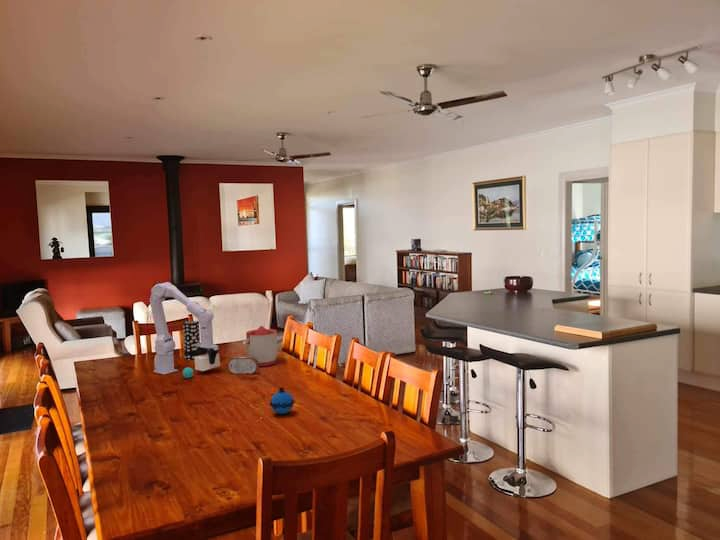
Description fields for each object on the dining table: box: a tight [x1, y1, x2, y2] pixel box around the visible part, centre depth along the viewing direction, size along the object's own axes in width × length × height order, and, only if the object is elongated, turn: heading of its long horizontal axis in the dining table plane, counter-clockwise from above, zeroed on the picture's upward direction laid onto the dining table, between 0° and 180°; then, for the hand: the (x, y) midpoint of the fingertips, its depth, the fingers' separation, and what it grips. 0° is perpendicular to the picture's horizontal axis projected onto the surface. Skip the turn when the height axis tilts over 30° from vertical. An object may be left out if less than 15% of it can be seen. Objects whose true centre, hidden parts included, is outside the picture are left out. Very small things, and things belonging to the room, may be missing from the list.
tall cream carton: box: [194, 353, 221, 372], centre depth 258 cm, size 6×10×6 cm, turn 143°
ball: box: [182, 366, 194, 379], centre depth 250 cm, size 5×5×5 cm
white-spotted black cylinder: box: [182, 320, 201, 361], centre depth 287 cm, size 8×8×20 cm
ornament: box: [269, 386, 295, 415], centre depth 197 cm, size 9×9×10 cm
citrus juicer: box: [242, 325, 278, 367], centre depth 271 cm, size 16×17×20 cm
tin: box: [227, 355, 260, 375], centre depth 254 cm, size 15×3×8 cm, turn 84°
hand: (208, 363), depth 259 cm, fingers closed on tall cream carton, 6 cm apart
